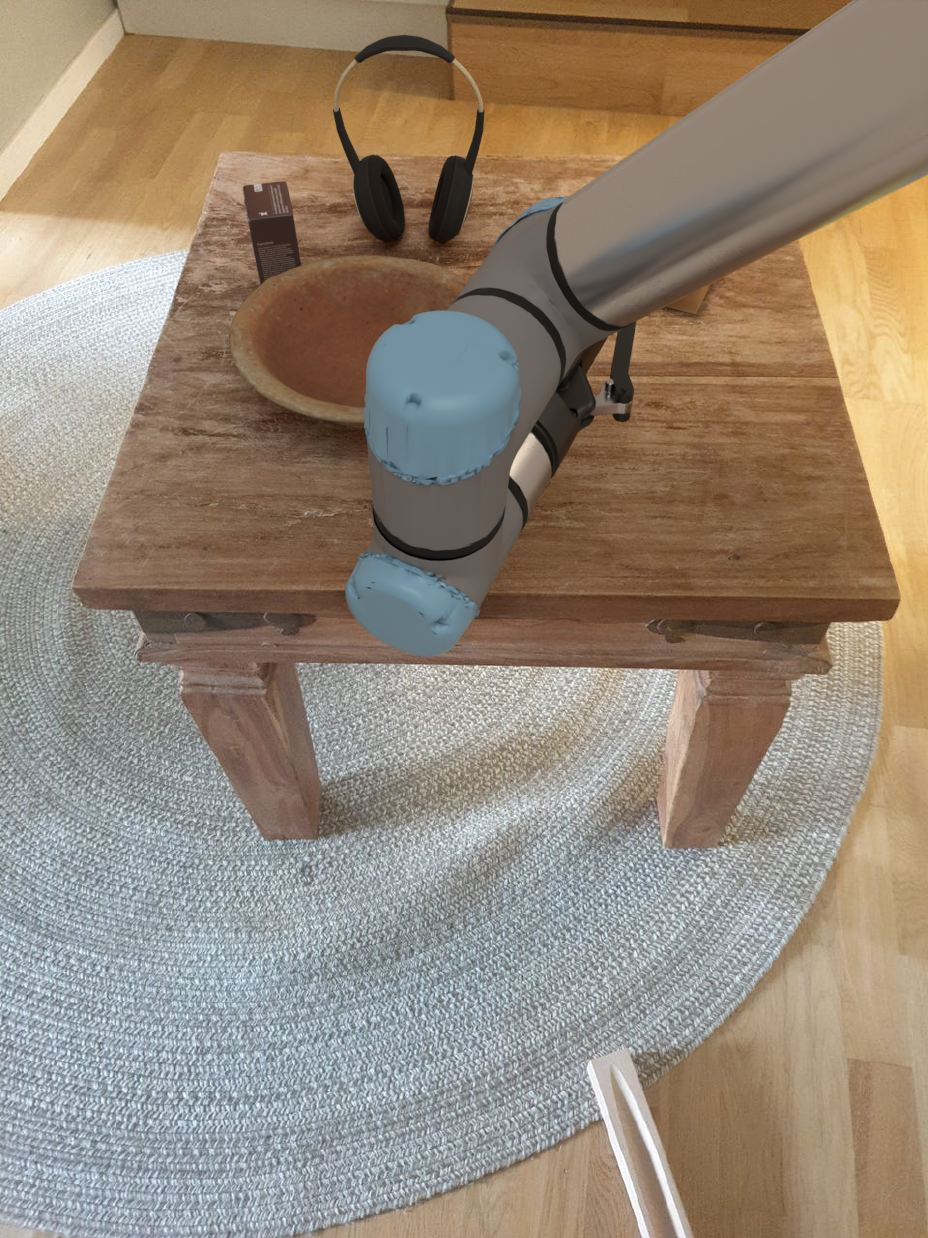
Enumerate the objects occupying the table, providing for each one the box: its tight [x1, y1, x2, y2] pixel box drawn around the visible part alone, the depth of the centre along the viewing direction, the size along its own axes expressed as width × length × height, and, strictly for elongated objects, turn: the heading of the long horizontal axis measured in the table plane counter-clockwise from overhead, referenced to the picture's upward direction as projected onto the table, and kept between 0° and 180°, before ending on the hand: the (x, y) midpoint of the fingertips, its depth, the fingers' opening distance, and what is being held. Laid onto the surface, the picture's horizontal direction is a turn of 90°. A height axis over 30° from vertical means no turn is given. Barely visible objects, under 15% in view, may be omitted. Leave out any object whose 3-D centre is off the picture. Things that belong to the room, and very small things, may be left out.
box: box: [242, 180, 302, 286], centre depth 89 cm, size 6×4×12 cm
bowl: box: [228, 255, 469, 428], centre depth 83 cm, size 24×24×8 cm
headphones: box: [332, 34, 485, 245], centre depth 92 cm, size 9×15×20 cm, turn 87°
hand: (624, 255), depth 73 cm, fingers closed
